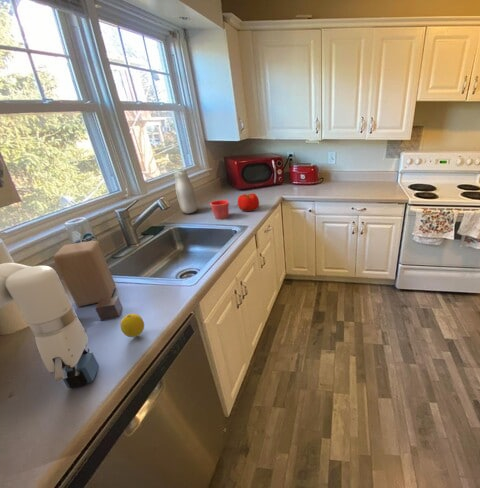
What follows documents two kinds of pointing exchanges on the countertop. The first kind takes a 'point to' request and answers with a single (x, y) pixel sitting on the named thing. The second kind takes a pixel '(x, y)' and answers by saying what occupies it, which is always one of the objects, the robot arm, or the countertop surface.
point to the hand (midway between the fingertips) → (83, 375)
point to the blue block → (86, 367)
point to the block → (85, 272)
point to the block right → (109, 308)
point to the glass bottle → (185, 192)
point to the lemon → (132, 325)
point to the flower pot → (220, 209)
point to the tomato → (248, 202)
